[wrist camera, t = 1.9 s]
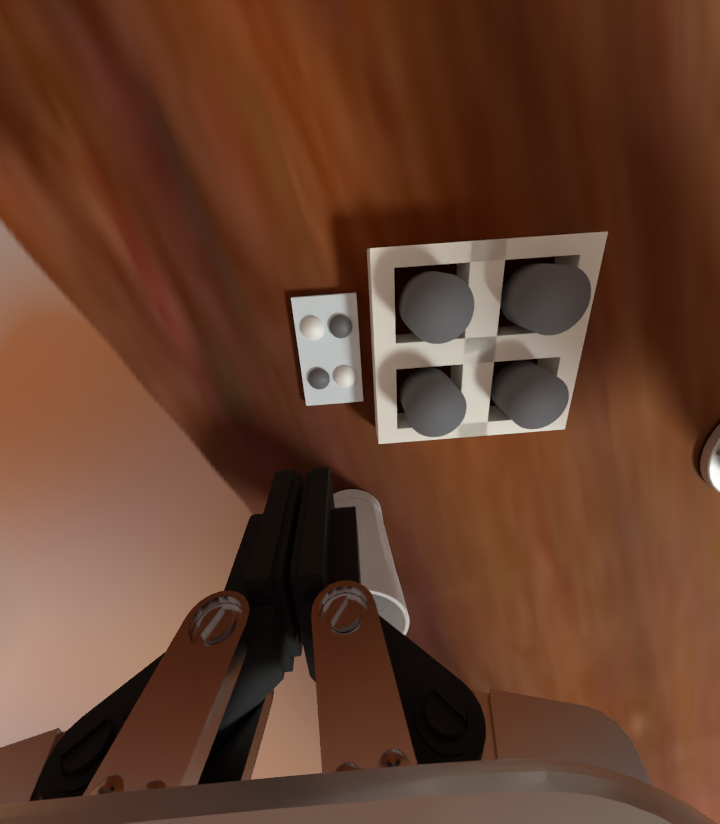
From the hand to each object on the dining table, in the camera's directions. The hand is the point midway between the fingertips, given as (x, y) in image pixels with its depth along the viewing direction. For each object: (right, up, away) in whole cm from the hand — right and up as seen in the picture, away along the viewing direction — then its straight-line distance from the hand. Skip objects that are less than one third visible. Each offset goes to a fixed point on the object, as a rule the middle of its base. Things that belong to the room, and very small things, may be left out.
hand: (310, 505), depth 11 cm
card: (-1, +8, +17) cm, 19 cm away
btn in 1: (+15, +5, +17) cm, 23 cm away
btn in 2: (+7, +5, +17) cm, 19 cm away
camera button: (+14, +12, +14) cm, 23 cm away
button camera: (+7, +11, +14) cm, 19 cm away
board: (+11, +9, +17) cm, 22 cm away
